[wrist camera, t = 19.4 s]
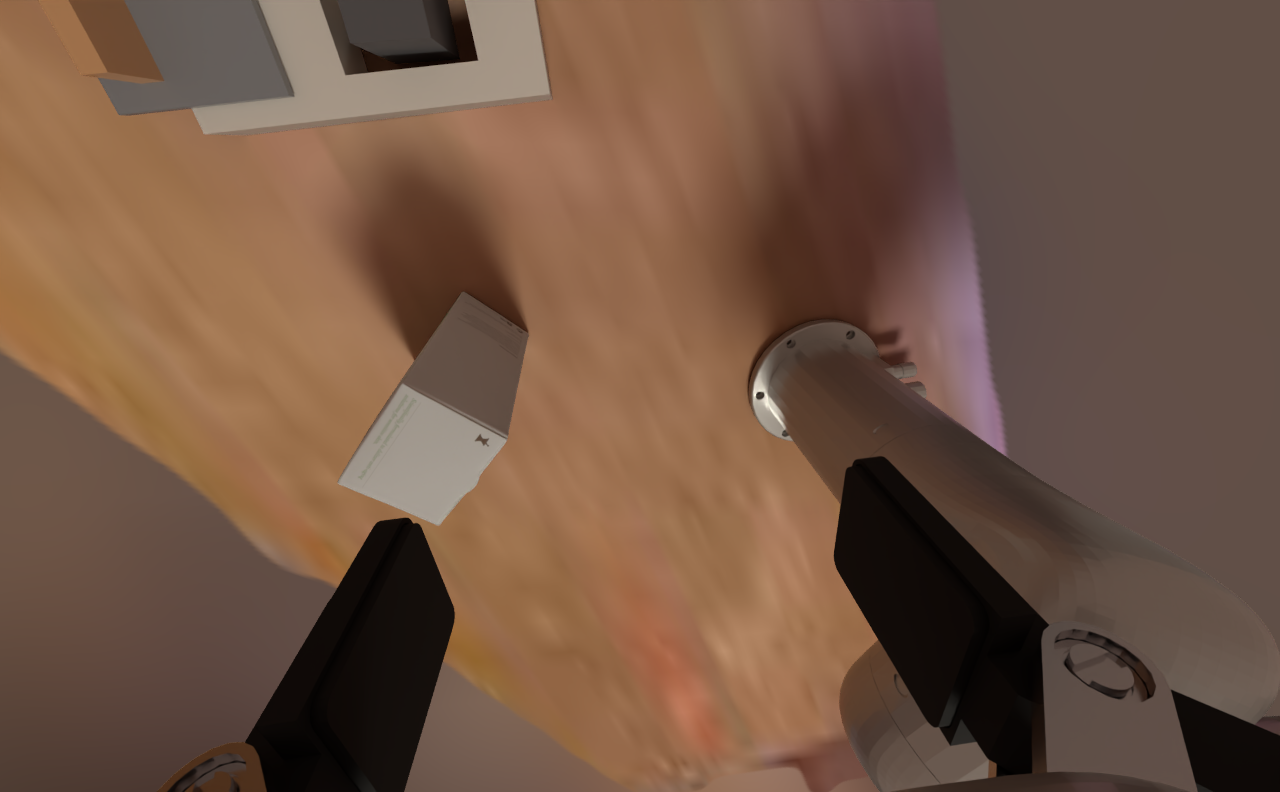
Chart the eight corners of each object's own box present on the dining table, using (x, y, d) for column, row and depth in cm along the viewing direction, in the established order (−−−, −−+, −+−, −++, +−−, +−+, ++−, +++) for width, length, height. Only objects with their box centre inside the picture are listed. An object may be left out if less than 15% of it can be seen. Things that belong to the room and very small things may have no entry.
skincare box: (464, 288, 37) (400, 373, 23) (535, 335, 39) (516, 436, 26) (412, 366, 39) (327, 484, 26) (482, 406, 42) (439, 532, 28)
